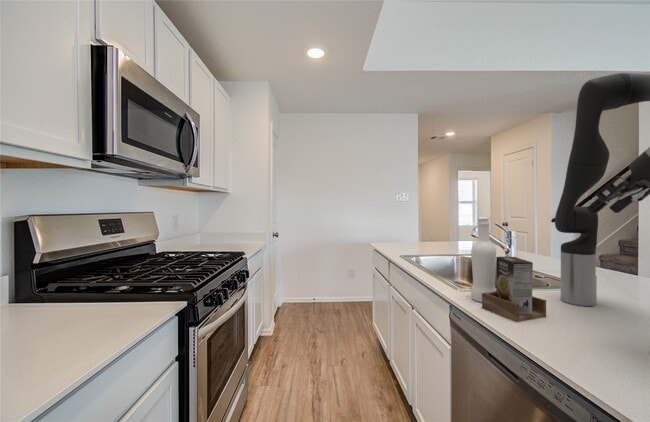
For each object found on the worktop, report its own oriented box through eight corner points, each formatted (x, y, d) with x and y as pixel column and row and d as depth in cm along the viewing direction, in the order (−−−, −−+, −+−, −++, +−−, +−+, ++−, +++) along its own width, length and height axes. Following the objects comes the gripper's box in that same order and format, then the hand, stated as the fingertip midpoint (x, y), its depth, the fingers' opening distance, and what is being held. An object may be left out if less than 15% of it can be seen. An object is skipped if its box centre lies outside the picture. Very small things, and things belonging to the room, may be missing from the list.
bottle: (500, 304, 101) (500, 217, 100) (474, 303, 103) (474, 217, 102) (491, 297, 109) (491, 216, 108) (468, 296, 111) (468, 216, 110)
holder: (509, 303, 102) (509, 289, 102) (546, 316, 90) (546, 300, 90) (481, 307, 98) (481, 293, 98) (516, 322, 86) (516, 305, 86)
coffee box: (495, 304, 99) (495, 256, 98) (514, 304, 98) (514, 256, 98) (511, 314, 89) (511, 261, 89) (533, 314, 89) (533, 261, 89)
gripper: (668, 149, 68) (607, 200, 79) (629, 146, 63) (570, 201, 74) (704, 170, 63) (633, 221, 74) (664, 168, 58) (595, 223, 69)
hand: (601, 211), depth 74 cm, fingers open, 8 cm apart
